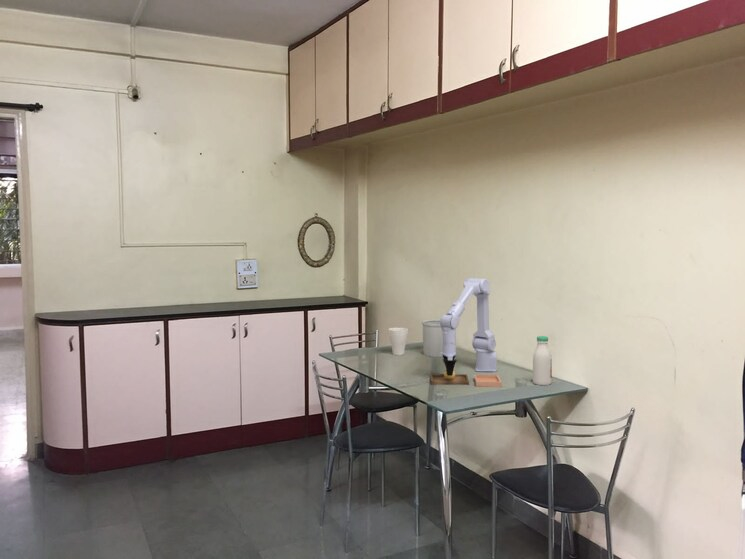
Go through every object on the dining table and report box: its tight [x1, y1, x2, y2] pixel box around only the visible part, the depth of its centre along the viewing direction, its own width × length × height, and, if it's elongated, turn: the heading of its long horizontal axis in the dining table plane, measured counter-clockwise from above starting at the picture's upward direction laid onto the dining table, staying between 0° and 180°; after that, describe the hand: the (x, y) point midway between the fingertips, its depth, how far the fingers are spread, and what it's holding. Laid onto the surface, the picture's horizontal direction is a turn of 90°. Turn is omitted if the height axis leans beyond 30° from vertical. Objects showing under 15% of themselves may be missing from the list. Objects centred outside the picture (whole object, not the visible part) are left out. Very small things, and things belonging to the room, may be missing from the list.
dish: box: [473, 374, 503, 388], centre depth 264 cm, size 10×12×2 cm
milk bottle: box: [532, 335, 553, 386], centre depth 262 cm, size 8×8×20 cm
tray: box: [430, 373, 470, 386], centre depth 269 cm, size 16×12×2 cm
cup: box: [387, 327, 409, 356], centre depth 326 cm, size 10×10×14 cm
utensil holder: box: [421, 318, 443, 358], centre depth 324 cm, size 15×15×18 cm
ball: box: [443, 369, 456, 380], centre depth 268 cm, size 5×5×5 cm
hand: (449, 373), depth 268 cm, fingers open, 7 cm apart
